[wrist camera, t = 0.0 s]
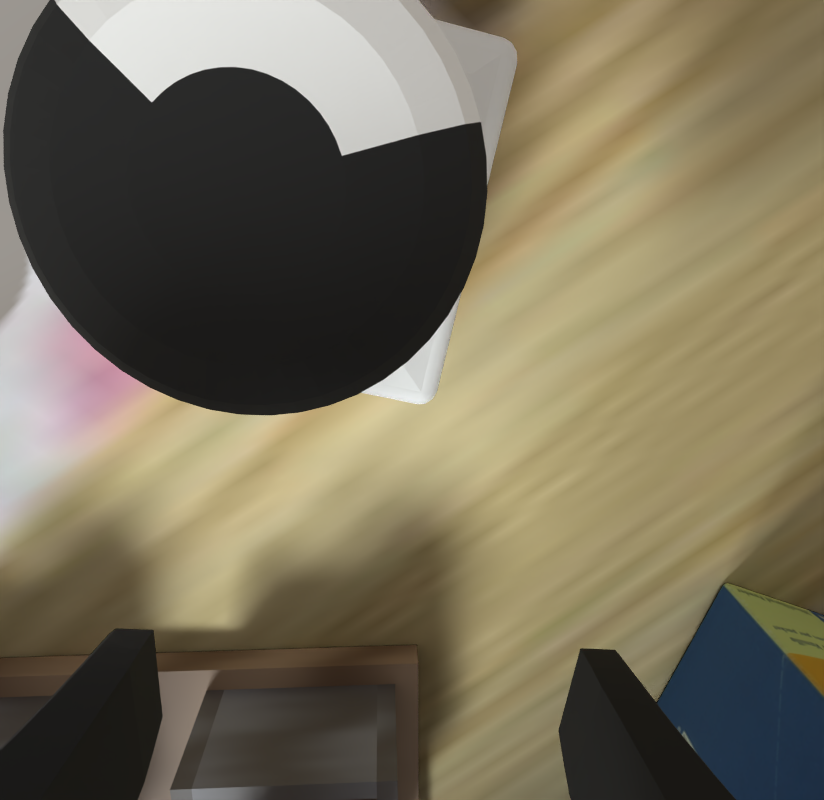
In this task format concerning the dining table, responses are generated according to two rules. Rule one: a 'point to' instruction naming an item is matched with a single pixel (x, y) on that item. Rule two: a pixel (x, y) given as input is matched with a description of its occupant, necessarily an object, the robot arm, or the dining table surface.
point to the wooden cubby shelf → (263, 721)
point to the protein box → (754, 696)
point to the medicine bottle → (257, 190)
